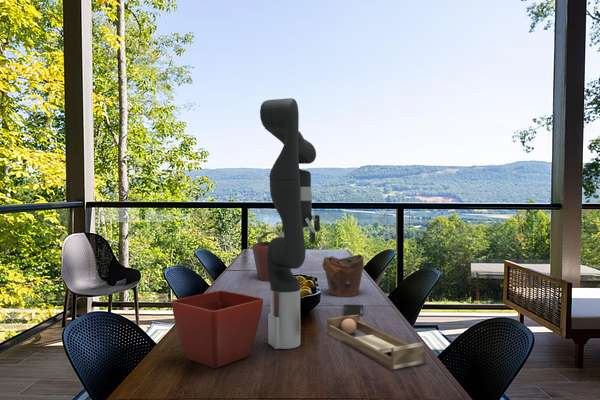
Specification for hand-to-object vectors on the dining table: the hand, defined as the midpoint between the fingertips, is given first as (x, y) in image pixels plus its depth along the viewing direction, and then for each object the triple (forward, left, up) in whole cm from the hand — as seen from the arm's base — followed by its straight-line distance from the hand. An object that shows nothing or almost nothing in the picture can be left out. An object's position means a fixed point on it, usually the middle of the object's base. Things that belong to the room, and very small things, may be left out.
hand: (301, 243), depth 175 cm
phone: (+24, +3, -29) cm, 38 cm away
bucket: (+22, +78, -28) cm, 86 cm away
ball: (+7, -22, -25) cm, 34 cm away
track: (+7, -36, -28) cm, 46 cm away
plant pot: (-38, -24, -28) cm, 53 cm away
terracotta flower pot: (+36, +31, -28) cm, 55 cm away
